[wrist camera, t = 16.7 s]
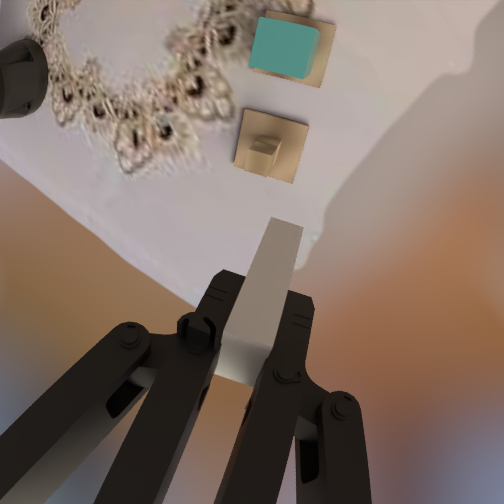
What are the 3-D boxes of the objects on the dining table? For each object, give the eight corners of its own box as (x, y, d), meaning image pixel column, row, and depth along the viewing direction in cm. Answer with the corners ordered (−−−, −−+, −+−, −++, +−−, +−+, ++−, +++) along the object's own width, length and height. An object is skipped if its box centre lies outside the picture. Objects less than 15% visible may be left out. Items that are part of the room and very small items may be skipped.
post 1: (254, 70, 33) (237, 75, 28) (267, 10, 28) (253, 3, 23) (319, 87, 33) (315, 94, 28) (336, 26, 28) (336, 21, 23)
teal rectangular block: (266, 63, 32) (248, 66, 26) (275, 22, 29) (259, 16, 23) (310, 74, 32) (303, 79, 26) (321, 33, 28) (316, 28, 22)
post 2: (235, 164, 42) (217, 184, 36) (246, 108, 37) (229, 119, 31) (292, 181, 41) (284, 204, 36) (309, 125, 36) (303, 140, 31)
